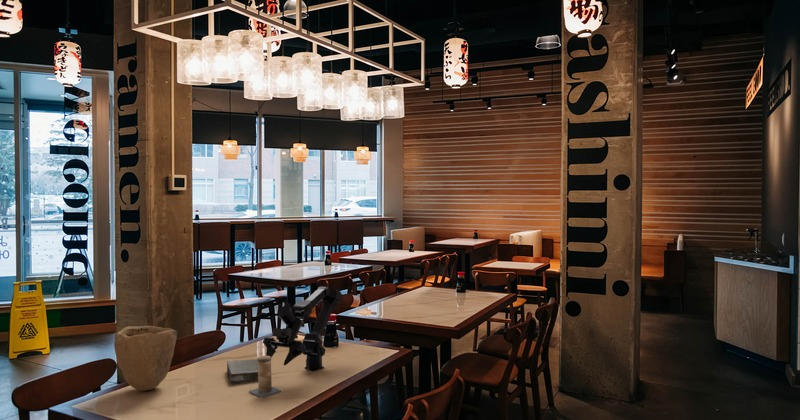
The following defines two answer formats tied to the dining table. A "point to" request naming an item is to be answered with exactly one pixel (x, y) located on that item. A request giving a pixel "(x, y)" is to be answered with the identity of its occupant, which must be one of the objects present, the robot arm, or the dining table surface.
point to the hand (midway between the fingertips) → (275, 363)
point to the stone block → (242, 371)
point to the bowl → (145, 354)
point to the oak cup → (264, 374)
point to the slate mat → (261, 395)
